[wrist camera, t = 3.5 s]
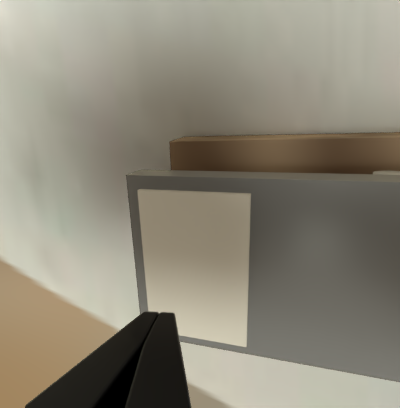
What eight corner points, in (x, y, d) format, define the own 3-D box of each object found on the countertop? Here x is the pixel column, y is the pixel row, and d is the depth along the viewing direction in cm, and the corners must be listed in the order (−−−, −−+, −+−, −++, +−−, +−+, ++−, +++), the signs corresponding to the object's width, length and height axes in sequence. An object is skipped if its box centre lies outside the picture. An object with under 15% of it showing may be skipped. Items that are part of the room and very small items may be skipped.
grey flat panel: (772, 176, 7) (959, 198, 5) (658, 382, 9) (763, 455, 7) (149, 166, 12) (123, 176, 10) (160, 306, 14) (140, 337, 12)
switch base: (496, 130, 14) (655, 135, 9) (455, 286, 17) (560, 363, 11) (184, 136, 16) (160, 144, 11) (190, 276, 19) (172, 339, 13)
